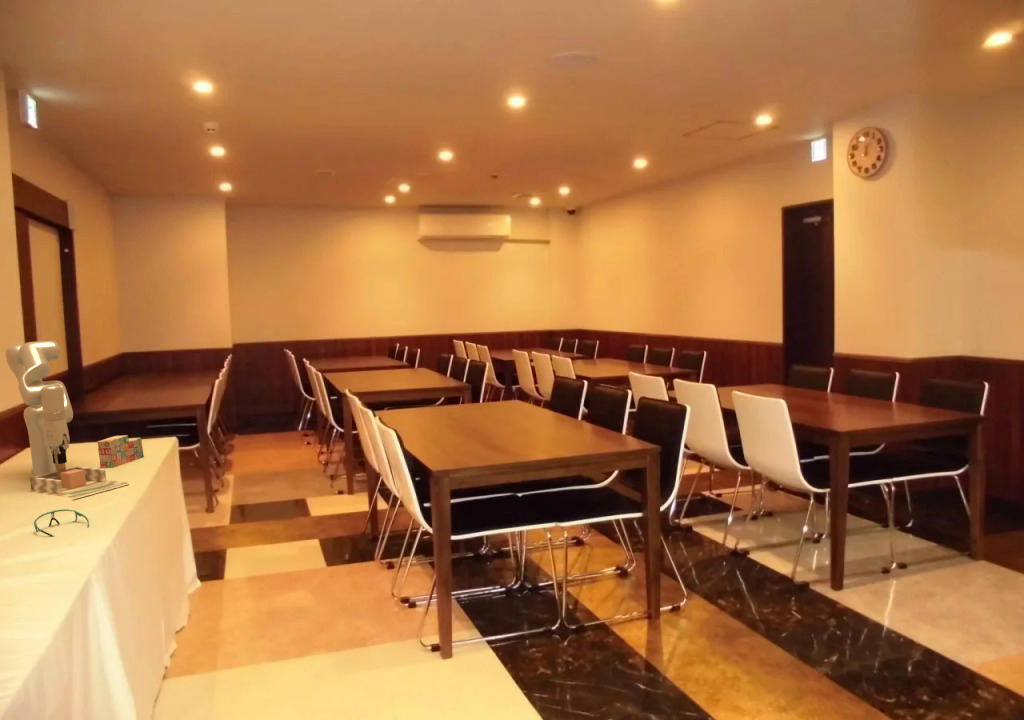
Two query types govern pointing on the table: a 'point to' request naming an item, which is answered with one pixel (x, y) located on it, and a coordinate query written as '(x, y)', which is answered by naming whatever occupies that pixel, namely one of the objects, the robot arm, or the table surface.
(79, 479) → the block
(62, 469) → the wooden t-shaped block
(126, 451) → the stack of blocks
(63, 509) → the sunglasses
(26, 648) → the table surface
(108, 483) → the cubby
